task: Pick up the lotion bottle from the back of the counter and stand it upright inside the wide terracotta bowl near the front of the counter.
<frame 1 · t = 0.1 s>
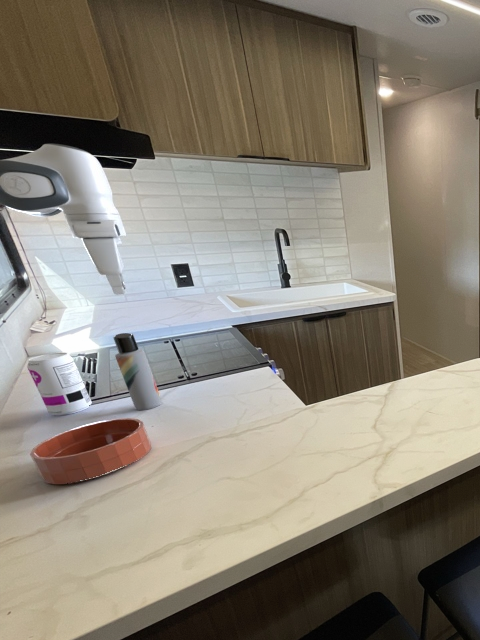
hand: (120, 291, 94), 31 cm above the countertop, tool pointing down, fingers open, 8 cm apart
bowl: (101, 462, 82), on the countertop
supplement can: (72, 410, 108), on the countertop
lotion bottle: (149, 406, 109), on the countertop
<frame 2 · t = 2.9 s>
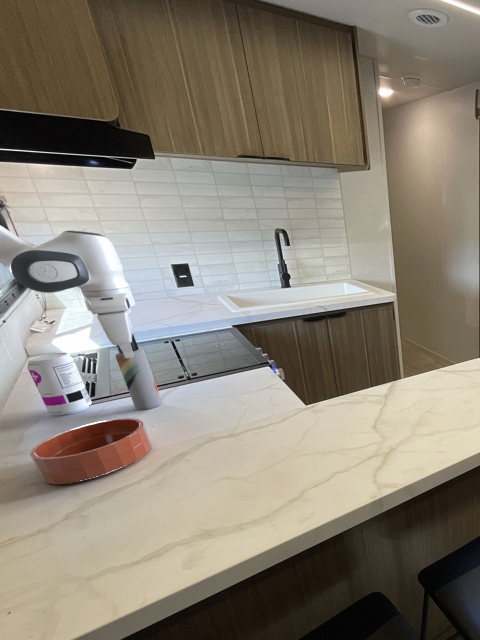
hand: (130, 354, 103), 15 cm above the countertop, tool pointing down, fingers closed on lotion bottle, 5 cm apart
lotion bottle: (149, 406, 109), on the countertop, touching gripper
everything else where it was.
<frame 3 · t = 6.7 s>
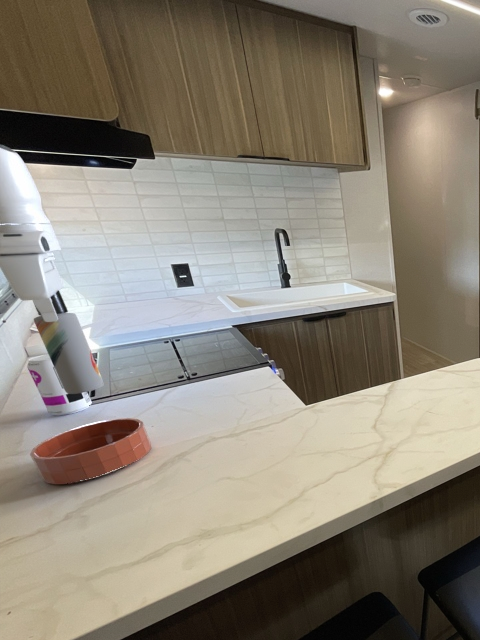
hand: (55, 318, 76), 29 cm above the countertop, tool pointing down, fingers closed on lotion bottle, 5 cm apart
lotion bottle: (86, 389, 82), point 14 cm above the countertop, touching gripper
everything else where it was.
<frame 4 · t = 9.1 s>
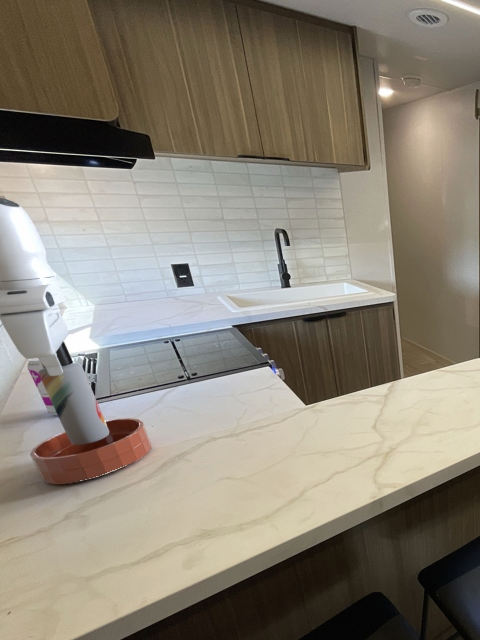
hand: (60, 369, 75), 20 cm above the countertop, tool pointing down, fingers closed on lotion bottle, 5 cm apart
lotion bottle: (91, 439, 80), point 5 cm above the countertop, touching gripper
everything else where it was.
when the fingers open (15 cm above the countertop, at t = 10.9 s): lotion bottle stays where it is, resting on bowl.
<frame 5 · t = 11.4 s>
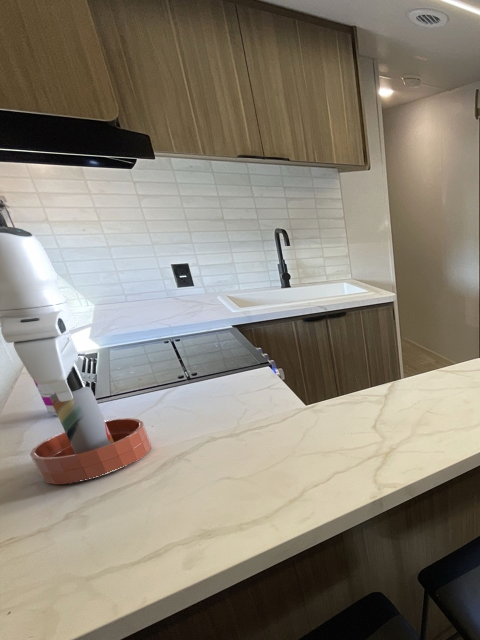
hand: (70, 392, 77), 16 cm above the countertop, tool pointing down, fingers open, 8 cm apart
lotion bottle: (100, 460, 82), resting on bowl
everything else where it was.
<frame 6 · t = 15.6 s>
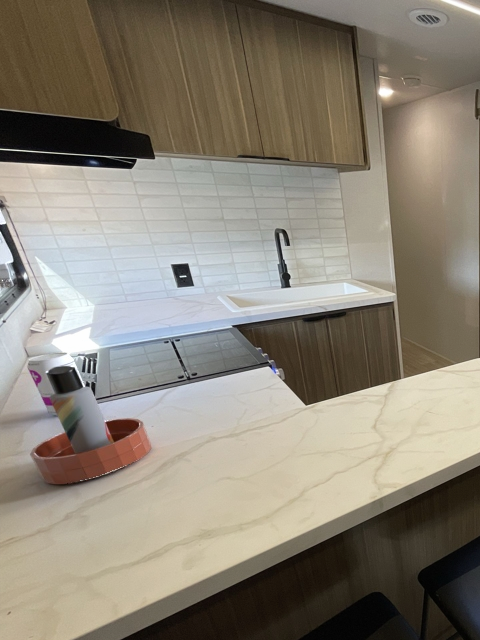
hand: (1, 289, 79), 34 cm above the countertop, tool pointing down, fingers open, 8 cm apart
nothing on the countertop moved.
at the end: lotion bottle inside the target area in the bowl (0.0 cm from its centre), point 0.4 cm above the bowl's base; lotion bottle tilted 0°; the gripper is holding nothing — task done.
